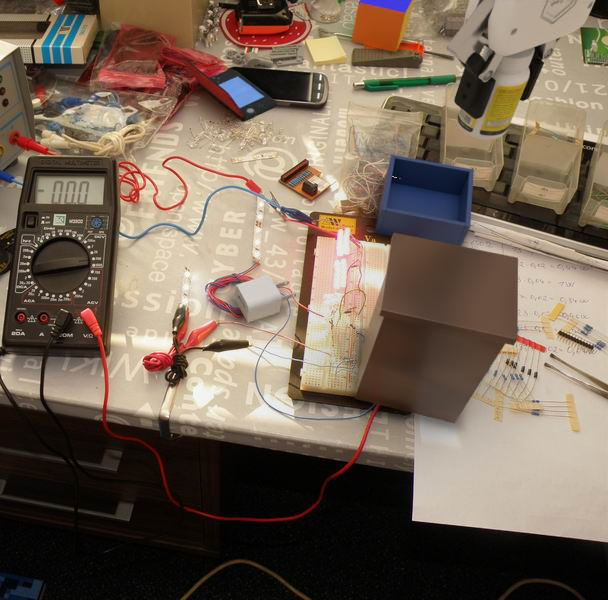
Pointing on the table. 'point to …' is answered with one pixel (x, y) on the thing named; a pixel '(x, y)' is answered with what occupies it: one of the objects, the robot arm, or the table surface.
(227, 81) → the handheld console
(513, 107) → the supplement bottle
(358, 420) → the table surface
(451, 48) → the robot arm
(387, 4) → the cube
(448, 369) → the walnut stand
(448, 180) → the parts bin
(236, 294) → the usb wall charger
